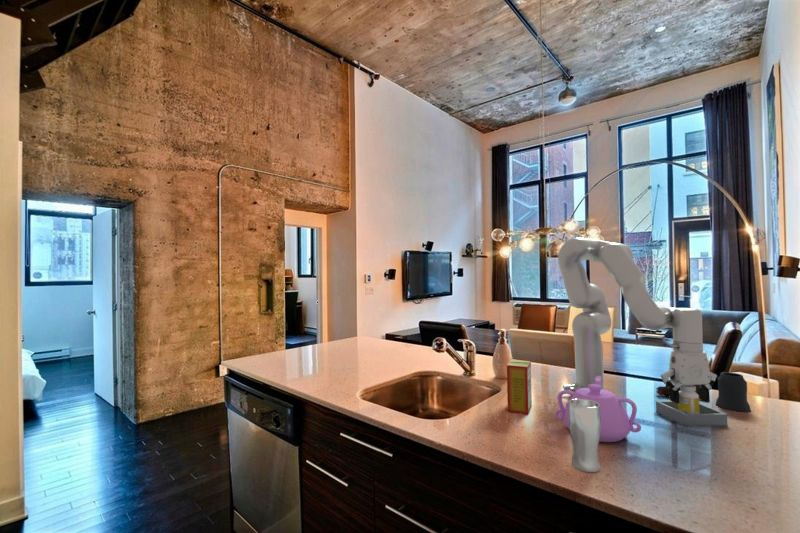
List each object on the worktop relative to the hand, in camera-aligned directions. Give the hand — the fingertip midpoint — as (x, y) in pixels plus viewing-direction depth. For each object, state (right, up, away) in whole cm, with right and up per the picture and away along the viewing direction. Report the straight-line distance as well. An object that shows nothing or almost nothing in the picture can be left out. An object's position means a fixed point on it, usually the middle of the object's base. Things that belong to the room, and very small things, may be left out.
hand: (689, 401), depth 119 cm
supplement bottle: (0, -5, 0) cm, 5 cm away
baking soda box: (-50, -6, +10) cm, 52 cm away
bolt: (+13, -6, +21) cm, 26 cm away
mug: (+23, -6, +11) cm, 26 cm away
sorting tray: (0, -5, 0) cm, 5 cm away
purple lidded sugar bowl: (-34, -6, -8) cm, 35 cm away
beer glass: (-47, -5, -29) cm, 55 cm away
